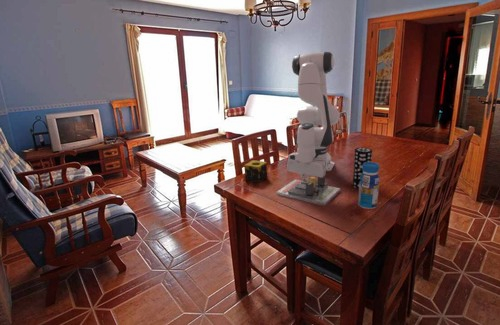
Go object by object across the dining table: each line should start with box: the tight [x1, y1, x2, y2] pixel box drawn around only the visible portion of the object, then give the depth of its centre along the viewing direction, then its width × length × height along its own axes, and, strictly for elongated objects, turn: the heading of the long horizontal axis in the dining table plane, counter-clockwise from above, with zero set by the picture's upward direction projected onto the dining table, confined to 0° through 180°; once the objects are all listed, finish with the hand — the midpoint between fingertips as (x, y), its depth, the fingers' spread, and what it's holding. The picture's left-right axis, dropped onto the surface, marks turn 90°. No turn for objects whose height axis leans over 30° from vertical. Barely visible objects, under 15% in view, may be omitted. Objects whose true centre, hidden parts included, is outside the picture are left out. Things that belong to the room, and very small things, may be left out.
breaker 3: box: [317, 175, 326, 185], centre depth 151 cm, size 4×2×5 cm
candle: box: [244, 159, 268, 184], centre depth 171 cm, size 10×10×10 cm
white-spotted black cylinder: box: [352, 147, 373, 190], centre depth 152 cm, size 8×8×20 cm
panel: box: [276, 179, 341, 207], centre depth 150 cm, size 20×26×3 cm
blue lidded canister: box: [357, 161, 381, 210], centre depth 130 cm, size 8×8×20 cm
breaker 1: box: [308, 176, 316, 187], centre depth 147 cm, size 4×2×5 cm
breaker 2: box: [306, 182, 314, 195], centre depth 141 cm, size 4×2×5 cm
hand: (305, 182), depth 149 cm, fingers closed
